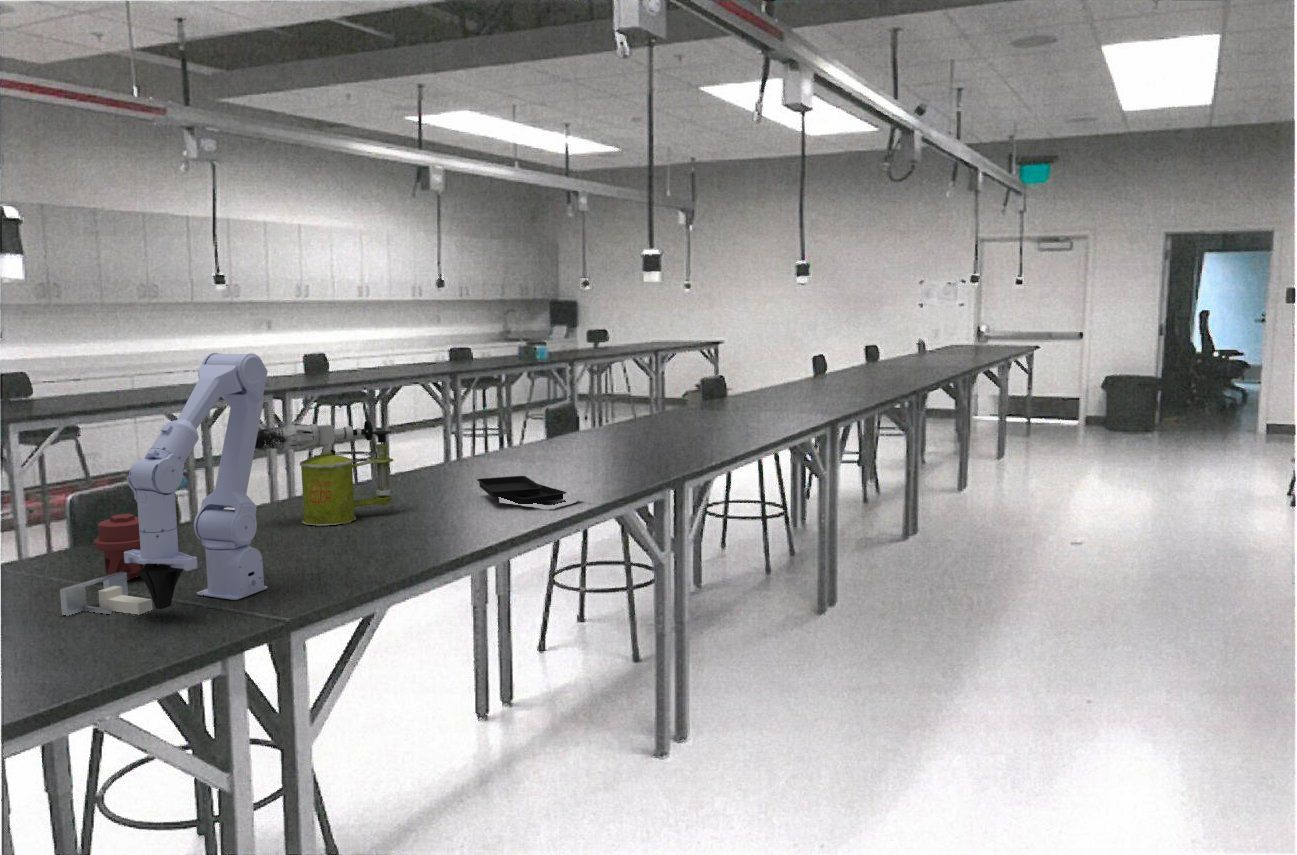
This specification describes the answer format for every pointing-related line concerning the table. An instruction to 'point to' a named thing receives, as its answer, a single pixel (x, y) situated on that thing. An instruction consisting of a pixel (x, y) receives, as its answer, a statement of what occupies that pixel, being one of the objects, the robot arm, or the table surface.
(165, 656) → the table surface
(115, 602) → the cream l-shaped block
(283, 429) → the blowtorch
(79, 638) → the table surface
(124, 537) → the mechanical component
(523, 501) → the tray
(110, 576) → the housing
